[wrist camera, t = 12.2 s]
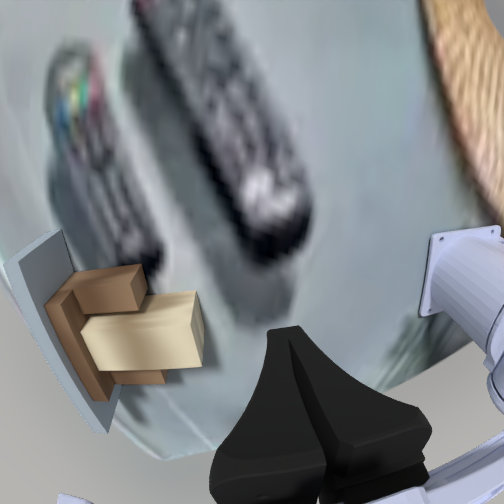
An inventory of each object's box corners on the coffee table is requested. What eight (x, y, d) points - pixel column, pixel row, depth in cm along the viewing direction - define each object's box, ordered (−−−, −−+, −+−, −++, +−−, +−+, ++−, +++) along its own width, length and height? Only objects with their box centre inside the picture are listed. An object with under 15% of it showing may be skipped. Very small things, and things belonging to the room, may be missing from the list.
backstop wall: (61, 229, 19) (18, 261, 14) (122, 386, 26) (108, 433, 20) (46, 232, 19) (3, 264, 14) (109, 386, 26) (93, 432, 20)
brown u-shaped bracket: (141, 263, 21) (120, 299, 16) (170, 359, 24) (162, 402, 20) (73, 272, 21) (43, 305, 16) (108, 361, 24) (93, 400, 19)
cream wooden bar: (196, 289, 22) (190, 324, 18) (204, 328, 24) (201, 366, 20) (100, 299, 22) (80, 332, 18) (114, 335, 23) (98, 370, 19)
